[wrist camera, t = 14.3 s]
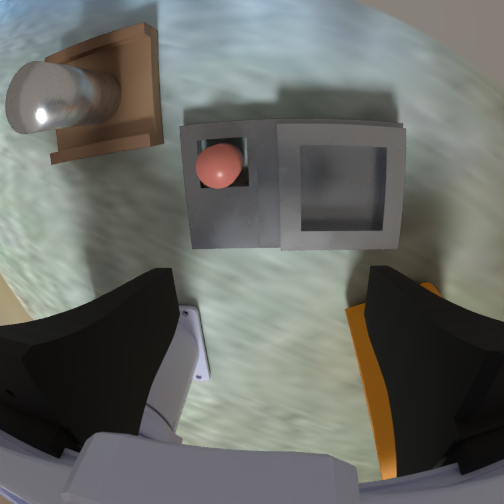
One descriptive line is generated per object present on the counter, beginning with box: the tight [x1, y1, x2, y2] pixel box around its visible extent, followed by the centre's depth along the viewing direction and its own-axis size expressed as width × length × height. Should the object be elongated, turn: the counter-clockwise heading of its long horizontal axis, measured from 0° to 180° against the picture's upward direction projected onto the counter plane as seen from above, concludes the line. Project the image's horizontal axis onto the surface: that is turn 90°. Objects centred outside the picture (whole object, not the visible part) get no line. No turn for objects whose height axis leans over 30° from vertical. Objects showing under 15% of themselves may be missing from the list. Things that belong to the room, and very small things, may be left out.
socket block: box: [179, 119, 406, 251], centre depth 18 cm, size 14×8×2 cm, turn 93°
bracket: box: [345, 282, 443, 480], centre depth 18 cm, size 11×7×12 cm, turn 21°
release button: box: [196, 143, 244, 189], centre depth 18 cm, size 2×2×2 cm
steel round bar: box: [5, 61, 122, 134], centre depth 13 cm, size 4×4×7 cm
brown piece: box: [45, 23, 164, 165], centre depth 17 cm, size 8×8×2 cm
